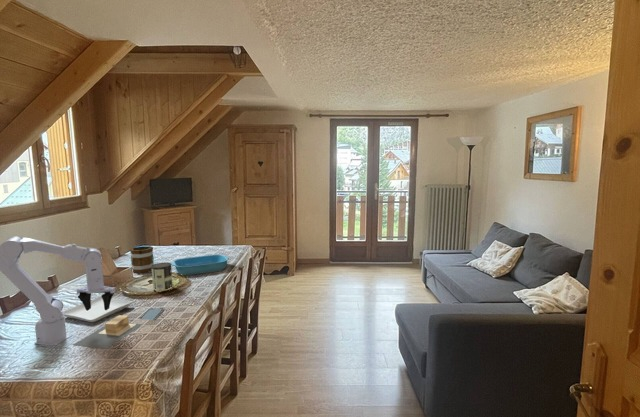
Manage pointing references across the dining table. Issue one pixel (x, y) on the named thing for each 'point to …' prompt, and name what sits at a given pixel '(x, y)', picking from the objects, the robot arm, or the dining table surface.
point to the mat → (105, 337)
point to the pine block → (117, 324)
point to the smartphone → (152, 314)
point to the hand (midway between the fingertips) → (97, 309)
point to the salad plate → (96, 310)
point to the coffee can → (162, 276)
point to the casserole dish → (200, 264)
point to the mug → (142, 259)
